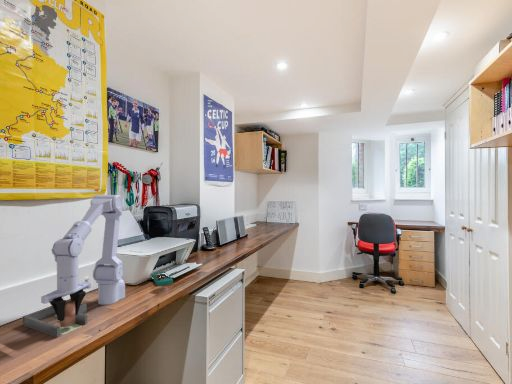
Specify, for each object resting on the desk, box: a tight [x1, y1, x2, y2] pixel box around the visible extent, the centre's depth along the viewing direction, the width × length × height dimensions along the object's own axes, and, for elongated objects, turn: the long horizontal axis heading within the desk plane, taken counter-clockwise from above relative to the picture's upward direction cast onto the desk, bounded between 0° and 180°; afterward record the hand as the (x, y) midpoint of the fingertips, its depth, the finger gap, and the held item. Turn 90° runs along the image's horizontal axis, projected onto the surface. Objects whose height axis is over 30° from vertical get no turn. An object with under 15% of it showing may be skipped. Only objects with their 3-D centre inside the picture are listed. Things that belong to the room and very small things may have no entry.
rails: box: [22, 299, 89, 339], centre depth 95 cm, size 15×18×3 cm
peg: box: [59, 299, 76, 328], centre depth 89 cm, size 4×4×7 cm
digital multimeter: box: [151, 271, 174, 287], centre depth 139 cm, size 7×15×3 cm, turn 33°
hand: (68, 317), depth 89 cm, fingers closed on peg, 4 cm apart
